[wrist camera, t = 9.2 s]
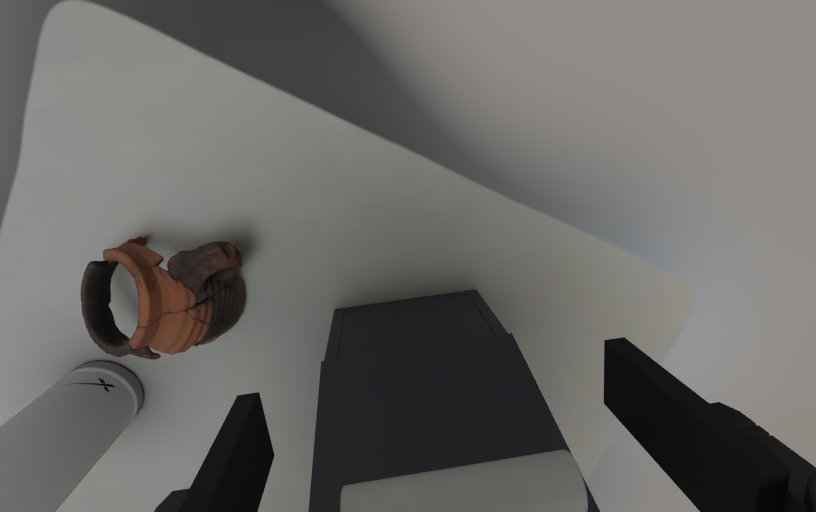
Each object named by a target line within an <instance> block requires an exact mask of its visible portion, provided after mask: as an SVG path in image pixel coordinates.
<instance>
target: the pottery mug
mask: <svg viewBox="0 0 816 512" xmlns="http://www.w3.org/2000/svg"><path fill="white" fill-rule="evenodd" d="M147 239H148V238H147V237H137V238H135V239H130V240H128V241H127V242H125V243H123V244H122V245H120V246H119V247H118V248H113V249H106V250H104V251H103V258H104V260H105V261H92V262H90V263H89V264H88V265H87V268H86V269H85V272H84V276H83V279H82V285H81V302H82V315H83V317H84V320H85V324H86V327H87V330H88V332H89V334H90V336H91V338H92V339H93V341H94V342H95V343H96V344H97V345H98V347H100V348H101V349H102V350H104V351H105V352H106V353H109V354H110V355H113V356H117V357H121V356H124V355H127V354H129V353H130V354H133V355H135V356H138V357H142V358H147V359H158V358H160V357H161V356H160V354H157V353H153V352H152V351H151V350H150V347H152V348H153V349H155V350H159V351H161V352H163V353H168V354H172V355H173V354H175V353H180V352H185V351H186V350H188V349H189V348H190V347H191V346H193V345H194V346H197V345H200V344H201V345H202V344H206V343H210V342H212V341H214V340H215V339H217V338H218V337H219V336H220V335H222V334H223V333H225V332H227V331H228V330H230V329H231V328H232V327H233V326H234V324H235V323H236V322H237V321H238V319H239V317H240V315H241V313H242V309H243V305H244V300H245V293H244V285H243V280H242V279H241V278H239V279H236V280H232V279H233V276H234V273H235V271H236V270H237V269H238V268H239V267H240V266H241V265H242V255H241V252H240V251H239V250H238V249H237V248H236V246H234V245H232V244H230V243H228V242H213V243H209V244H205V245H203V246H201V247H199V248H197V249H194V250H192V251H181V252H179V253H178V254H176V255H175V256H173V257H171V258H170V260H169V261H168V265H167V266H168V270H169V271H166V270H164V269H162V268H161V267H159V264H160V263H161V262H162V261H163V257H162V256H161V255H159V254H157V253H156V252H154V251H152V250H150V249H149V248H147V247H145V244H146V242H147ZM118 263H121V264H122V265H123V266H124V267H125V268H126V269H127V270H128V272H129V273H130V274H131V275H132V277H133V278H134V281H135V284H136V287H137V292H138V297H139V307H140V308H139V320H138V326H137V328H136V331H135V333H134V334H133V336H132V337H131V339H129V338H128V337H127V336H126V335H124V334H123V333H121V332H120V331H119V329H118V328H117V326H116V325H115V321H114V317H113V314H112V311H111V309H110V308H109V303H110V301H111V291H110V284H111V277H112V275H113V272H114V270H115V268H116V267H117V265H118ZM202 292H206V293H207V295H208V298H206V299H205V300H203V301H201V302H199V303H197V300H198V293H202ZM126 342H127V343H126Z"/></svg>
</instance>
